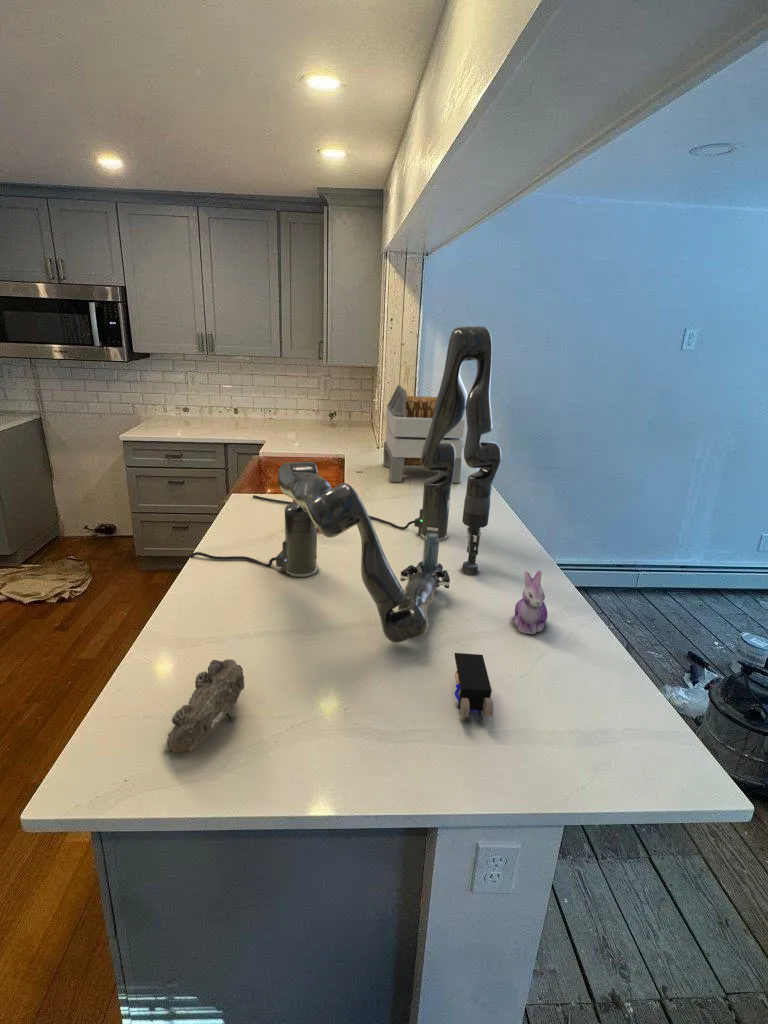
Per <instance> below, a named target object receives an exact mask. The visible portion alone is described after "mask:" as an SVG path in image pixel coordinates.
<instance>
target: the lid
mask: <svg viewBox="0 0 768 1024" xmlns="http://www.w3.org/2000/svg"><path fill="white" fill-rule="evenodd" d="M478 571H479V564H478V563H477V562H475V565H468V560H467V561H464V562H462V566H461V572H462V573H463V574H465V575H469V576H473V575H477V574H478Z"/></svg>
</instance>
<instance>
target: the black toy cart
mask: <svg viewBox="0 0 768 1024" xmlns="http://www.w3.org/2000/svg"><path fill="white" fill-rule="evenodd" d="M454 660H455V666H456V667H455V668H456V671H455V675H454V680H455V683H456V684H455V691H454V697H455V698H456V701H457V709H458V710H459V713H460V717H461V718H464V720H465V721H466V722H468V721H469V716H470V712H477V716H478V721H480V722H483V720H484V718H492V717H493V713H494V704H493V699H492V697H491V696H492V690H493V689H492V687H491V682H490V679H489V674H488V671H487V666H486V662H485V658H484V655H483V654H480V653H479V654H478V653H477V654H476V653H464V652H463V653H461V652H454ZM483 716H484V717H483Z"/></svg>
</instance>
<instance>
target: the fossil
mask: <svg viewBox="0 0 768 1024" xmlns="http://www.w3.org/2000/svg"><path fill="white" fill-rule="evenodd" d="M243 670H244V669H243V667H242V665H240V664H237V662H236V661H235V660H234V659H232V658H231V659H227V658H226V659H224V660H223V661H222V660H217V659H212V660H211V661H210V663H209V665H208V666H207V671H201V672H199V673H198V674H197V675H196V676H195V680H194V684H195V685H194V687H195V689H194V690H193V693H192V694H191V697H190V698H189V700H188V704H184V705H182V706H181V707H180V709H177V710H176V711H175V713H174V715H173V716H172V718H171V723H172V724H173V727H172V730H171V731H170V732H168V734H167V738H166V741H167V742H166V745H167V749H168V750H169V751H173V752H174V753H176V754H178V753H182V752H188V751H189V752H192V751H193V750H195V748H196V747H197V746H199V744H200V743H201V742H203V741H204V740H205V739H206V738H207V737H208V736H209V735H210V734H211V733H212V732H214V730H215V729H217V727H218V726H219V724H220V722H221V721H222V720H223V719H224V718H225V716H226V717H227V719H229V720H233V717H232V715H230V714H229V710H230V709H231V708H234V706H235V704H236V703H237V702H238V699H239V697H240V695H241V693H242V691H243V690H245V689H244V688H245V675H244V671H243Z"/></svg>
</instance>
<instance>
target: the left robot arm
mask: <svg viewBox="0 0 768 1024" xmlns="http://www.w3.org/2000/svg"><path fill="white" fill-rule="evenodd" d="M277 482H278V486H279V489H280V491H281V493H282V494H284V495H285V496H286V497H289V498H291V499H292V502H293V500H294V501H295V502H293V503H290V504H286V505H285V508H284V540H283V541H282V544H281V545H282V546H281V547H282V548H281V549H282V550H281V551H280V552H279V553H278V554H277V555H276V556H275V557H271V558H270V559H269V561H268V563H264V562H261V561H260V560H258V559H256V558H252V557H249V556H239V555H238V556H237V555H233V556H232V555H231V556H219V555H218V556H216V555H211V554H208V553H205V552H201V551H195V552H192V553H190V554H189V555H188V558H193V557H195V556H202V557H204V558H208V559H210V560H218V561H219V560H222V561H223V560H243V561H244V560H245V561H250V562H252V563H254V564H257V565H261V566H263V567H265V568H266V567H268V568H269V567H271V566H272V565H273V562H274V561H275V567H277V568H278V567H279V568H282V572H283V573H285V574H287V575H289V576H290V577H291V576H292V577H297V578H298V577H299V578H305V577H310V576H313V575H315V574H316V573H317V572H318V550H317V549H318V538H317V537H318V533H320V534H321V535H323V537H326V538H328V539H333V538H336V537H339V536H340V535H342V534H343V533H345V532H347V531H348V530H350V529H351V528H353V527H354V526H356V527H357V529H358V533H359V535H360V541H361V543H360V544H361V556H360V557H361V560H360V574H361V579H362V582H363V585H364V587H365V588H366V590H367V592H368V594H369V595H370V597H371V599H372V601H373V603H374V604H375V606H376V609H377V612H378V616H379V619H380V623H381V624H380V625H381V628H382V632H383V634H384V636H385V638H386V639H387V640H388V641H390V642H392V643H394V644H398V643H401V642H405V641H408V640H409V641H410V640H412V639H415V638H419V637H421V636H423V635H424V634H426V632H427V631H428V629H429V619H428V610H429V607H430V605H431V604H432V602H433V600H434V595H435V594H436V591H437V588H439V587H440V586H443V587H444V588H445V589H450V582H451V578H450V576H449V572H448V570H445V569H443V568H444V566H443V565H442V563H437V568H436V570H433V571H432V572H430V573H426V572H422V562H423V560H421V561H419V562H418V564H417V565H415V566H414V565H413V564H410V565H408V566H407V567H406V568H404V569H403V570H401V571H400V577H399V578H400V579H399V580H400V581H401V582H405V581H407V583H406V585H405V587H404V589H403V587H402V585H401V583H400V581H399V580H398V578H397V576H396V574H395V573H394V571H393V569H392V567H391V565H390V563H389V561H388V559H387V557H386V555H385V552H384V550H383V547H382V545H381V542H380V540H379V539H380V538H379V537H378V535H377V532H376V530H375V528H374V527H375V526H374V525H373V522H372V519H371V518H369V516H370V515H369V513H368V511H367V509H366V507H365V504H364V502H363V501H362V499H361V497H360V496H359V494H358V493H357V491H356V490H355V488H354V487H352V486H351V485H350V484H349V483H347V482H342V483H339V484H338V485H335V486H334V487H332V485H331V483H330V482H329V481H328V480H327V479H325V478H324V477H323V476H321V475H319V470H318V466H317V464H316V463H315V462H313V461H293V462H292V461H291V462H285V463H282V464H281V466H280V467H279V469H278V473H277ZM368 515H369V516H368ZM317 529H318V531H319V532H317ZM440 579H441V580H440ZM396 607H397V610H395V611H394V609H395V608H396Z"/></svg>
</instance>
